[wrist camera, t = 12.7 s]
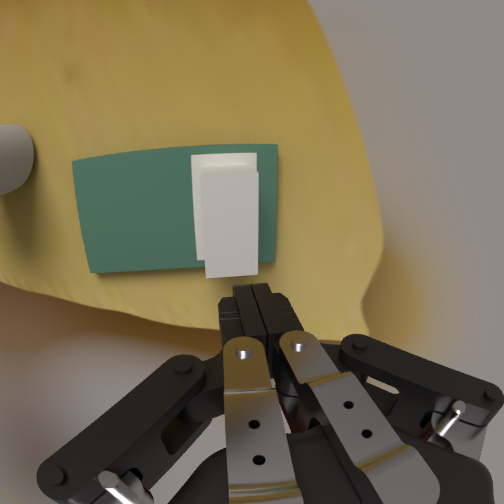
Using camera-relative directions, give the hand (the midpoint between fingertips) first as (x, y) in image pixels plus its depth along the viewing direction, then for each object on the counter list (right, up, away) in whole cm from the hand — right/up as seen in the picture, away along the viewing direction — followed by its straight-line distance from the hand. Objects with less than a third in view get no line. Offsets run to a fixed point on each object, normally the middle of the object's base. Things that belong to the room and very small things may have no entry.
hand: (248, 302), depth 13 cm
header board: (-8, +7, +15) cm, 18 cm away
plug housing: (-2, +6, +14) cm, 16 cm away
